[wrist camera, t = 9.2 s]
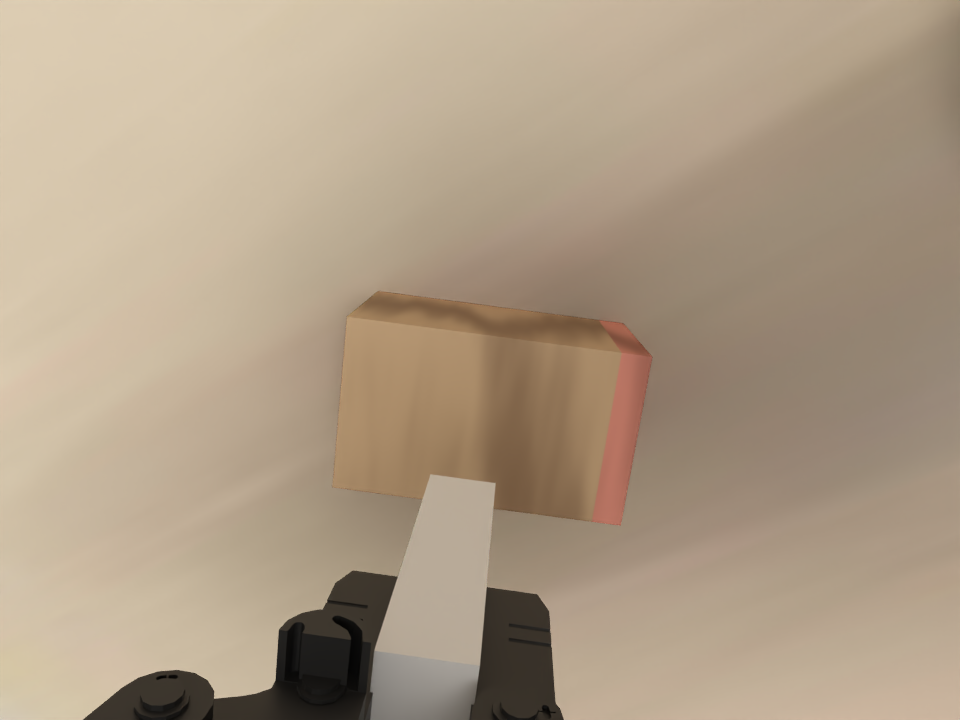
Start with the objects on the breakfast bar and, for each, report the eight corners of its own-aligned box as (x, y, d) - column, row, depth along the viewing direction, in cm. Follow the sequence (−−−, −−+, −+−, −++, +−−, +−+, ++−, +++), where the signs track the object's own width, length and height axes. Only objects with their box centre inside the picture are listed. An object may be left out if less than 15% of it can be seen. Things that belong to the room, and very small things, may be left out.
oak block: (652, 356, 24) (346, 316, 24) (620, 525, 25) (332, 487, 25) (623, 323, 29) (378, 291, 29) (598, 461, 31) (365, 430, 31)
